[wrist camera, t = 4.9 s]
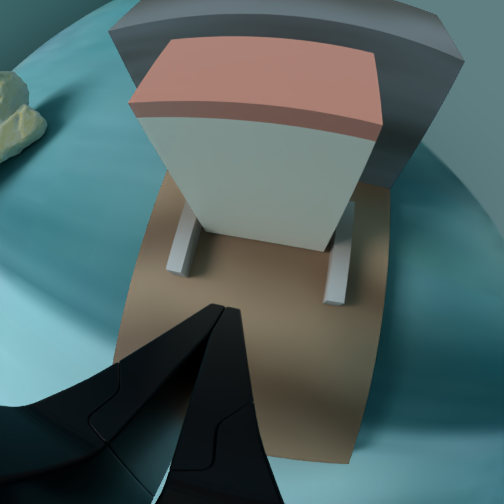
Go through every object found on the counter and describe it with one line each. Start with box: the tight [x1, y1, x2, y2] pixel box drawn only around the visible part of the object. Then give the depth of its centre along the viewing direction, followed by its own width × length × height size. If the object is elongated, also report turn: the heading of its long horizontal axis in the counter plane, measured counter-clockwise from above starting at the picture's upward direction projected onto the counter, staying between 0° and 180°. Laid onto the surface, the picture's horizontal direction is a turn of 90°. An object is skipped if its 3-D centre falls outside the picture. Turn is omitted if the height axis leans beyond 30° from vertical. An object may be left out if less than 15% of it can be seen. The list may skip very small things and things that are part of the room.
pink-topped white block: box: [128, 36, 383, 252], centre depth 10 cm, size 3×6×9 cm, turn 78°
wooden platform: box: [108, 0, 465, 464], centre depth 11 cm, size 19×13×11 cm
